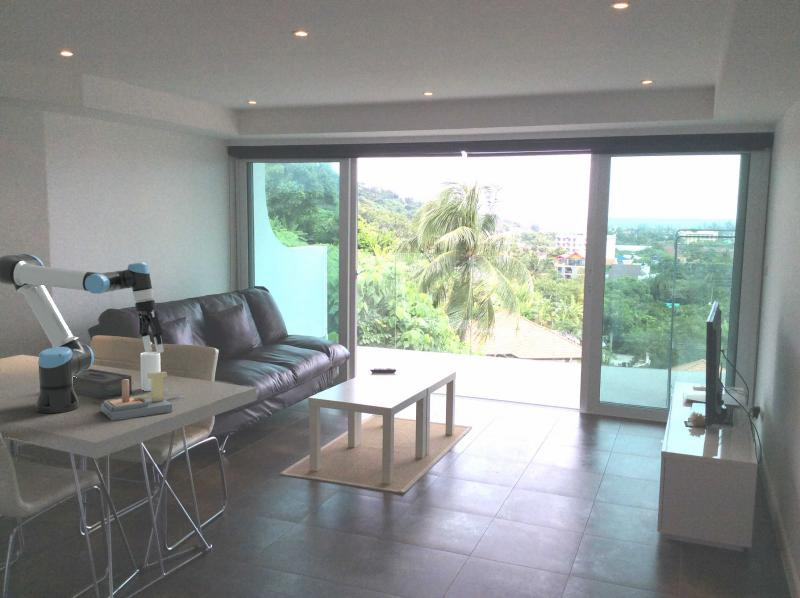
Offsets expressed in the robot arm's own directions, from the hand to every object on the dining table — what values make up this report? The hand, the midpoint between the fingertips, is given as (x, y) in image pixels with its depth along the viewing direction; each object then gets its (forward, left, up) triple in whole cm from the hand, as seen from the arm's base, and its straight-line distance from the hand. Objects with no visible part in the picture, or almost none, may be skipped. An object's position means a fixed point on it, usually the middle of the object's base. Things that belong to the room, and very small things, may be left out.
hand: (154, 352), depth 274 cm
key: (-5, -11, -18) cm, 21 cm away
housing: (-11, -11, -21) cm, 26 cm away
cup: (+5, +24, -21) cm, 32 cm away
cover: (-15, -11, -18) cm, 25 cm away
